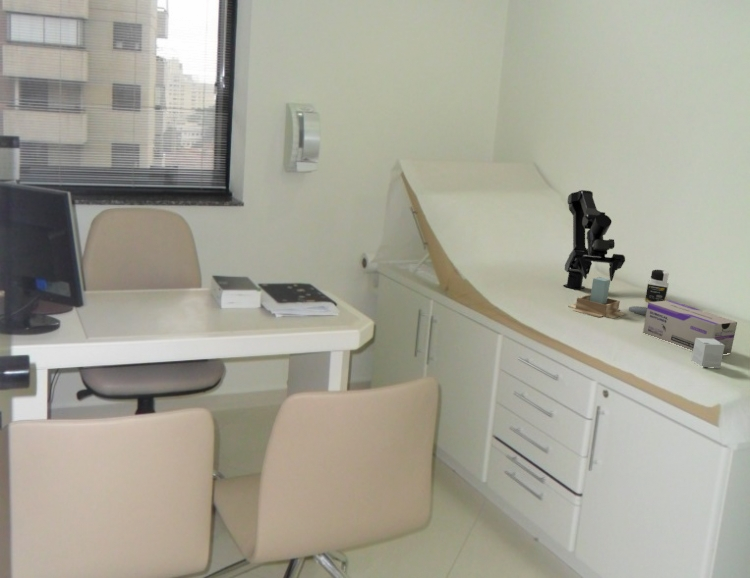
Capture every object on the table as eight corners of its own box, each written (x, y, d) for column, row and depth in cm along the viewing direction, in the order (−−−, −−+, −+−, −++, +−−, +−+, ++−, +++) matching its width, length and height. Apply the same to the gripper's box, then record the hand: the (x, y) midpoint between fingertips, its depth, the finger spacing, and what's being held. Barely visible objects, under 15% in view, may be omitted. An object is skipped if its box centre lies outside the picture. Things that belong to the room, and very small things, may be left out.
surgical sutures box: (642, 333, 268) (648, 302, 266) (664, 331, 274) (670, 300, 271) (708, 358, 248) (715, 324, 245) (730, 355, 254) (737, 322, 251)
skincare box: (709, 361, 244) (714, 338, 242) (720, 369, 238) (725, 344, 237) (690, 361, 243) (695, 337, 241) (701, 368, 237) (706, 343, 236)
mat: (635, 306, 303) (635, 304, 303) (662, 313, 297) (662, 311, 297) (624, 310, 296) (624, 308, 296) (651, 317, 290) (651, 315, 290)
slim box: (593, 308, 295) (598, 276, 292) (605, 311, 292) (610, 279, 289) (588, 310, 292) (593, 278, 289) (599, 313, 289) (605, 281, 286)
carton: (585, 301, 303) (587, 291, 302) (629, 312, 293) (631, 301, 292) (563, 308, 291) (565, 297, 290) (608, 320, 280) (610, 308, 279)
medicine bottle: (644, 301, 313) (650, 270, 310) (646, 297, 319) (651, 267, 316) (664, 304, 310) (670, 273, 307) (665, 301, 317) (671, 270, 314)
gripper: (576, 227, 294) (578, 264, 286) (628, 232, 294) (632, 269, 286) (568, 245, 303) (570, 281, 295) (618, 250, 304) (622, 286, 296)
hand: (598, 279), depth 293 cm, fingers open, 9 cm apart
